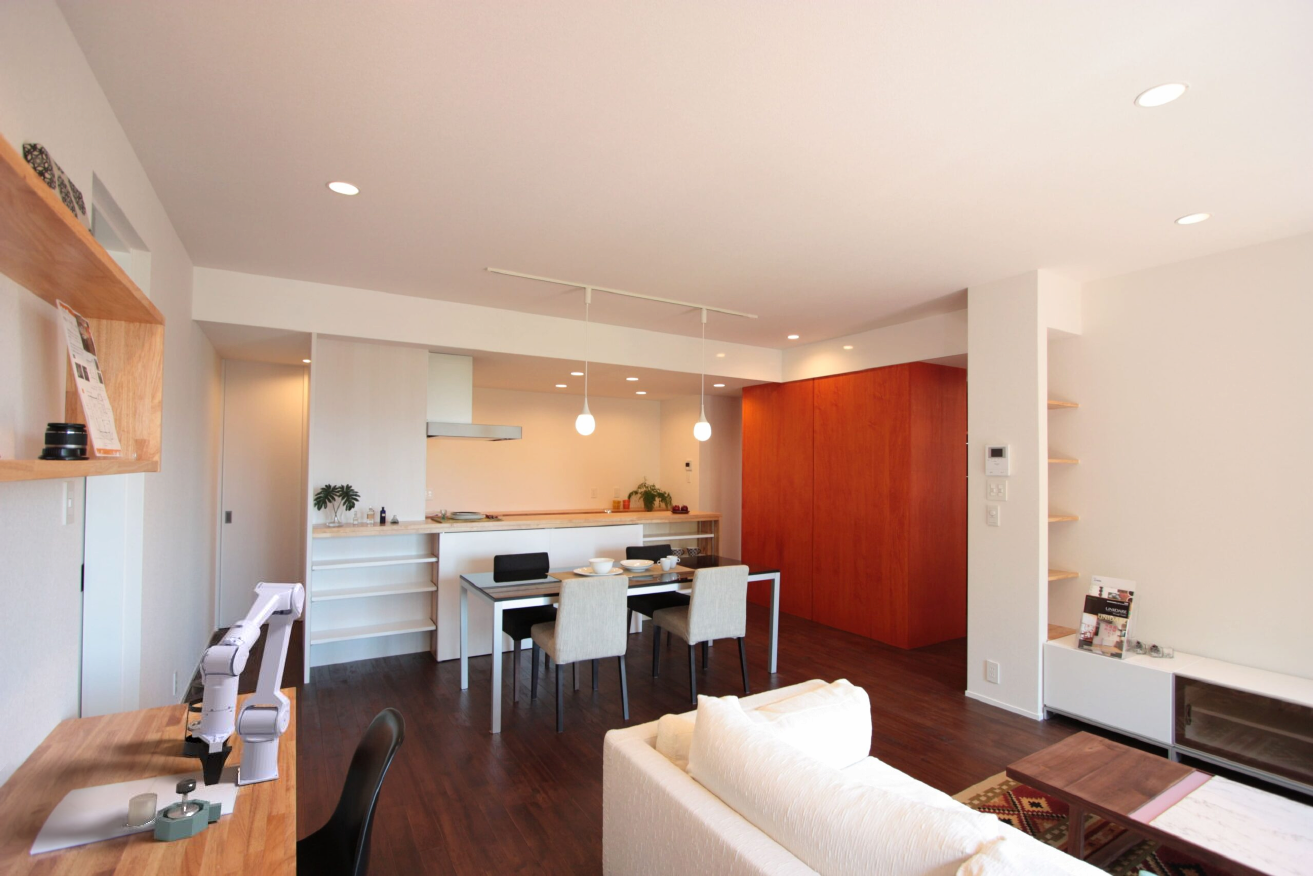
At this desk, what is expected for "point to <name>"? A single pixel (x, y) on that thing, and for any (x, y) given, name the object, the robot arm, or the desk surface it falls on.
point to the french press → (193, 723)
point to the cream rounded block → (142, 809)
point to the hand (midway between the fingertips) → (212, 776)
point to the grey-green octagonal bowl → (185, 821)
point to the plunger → (184, 800)
